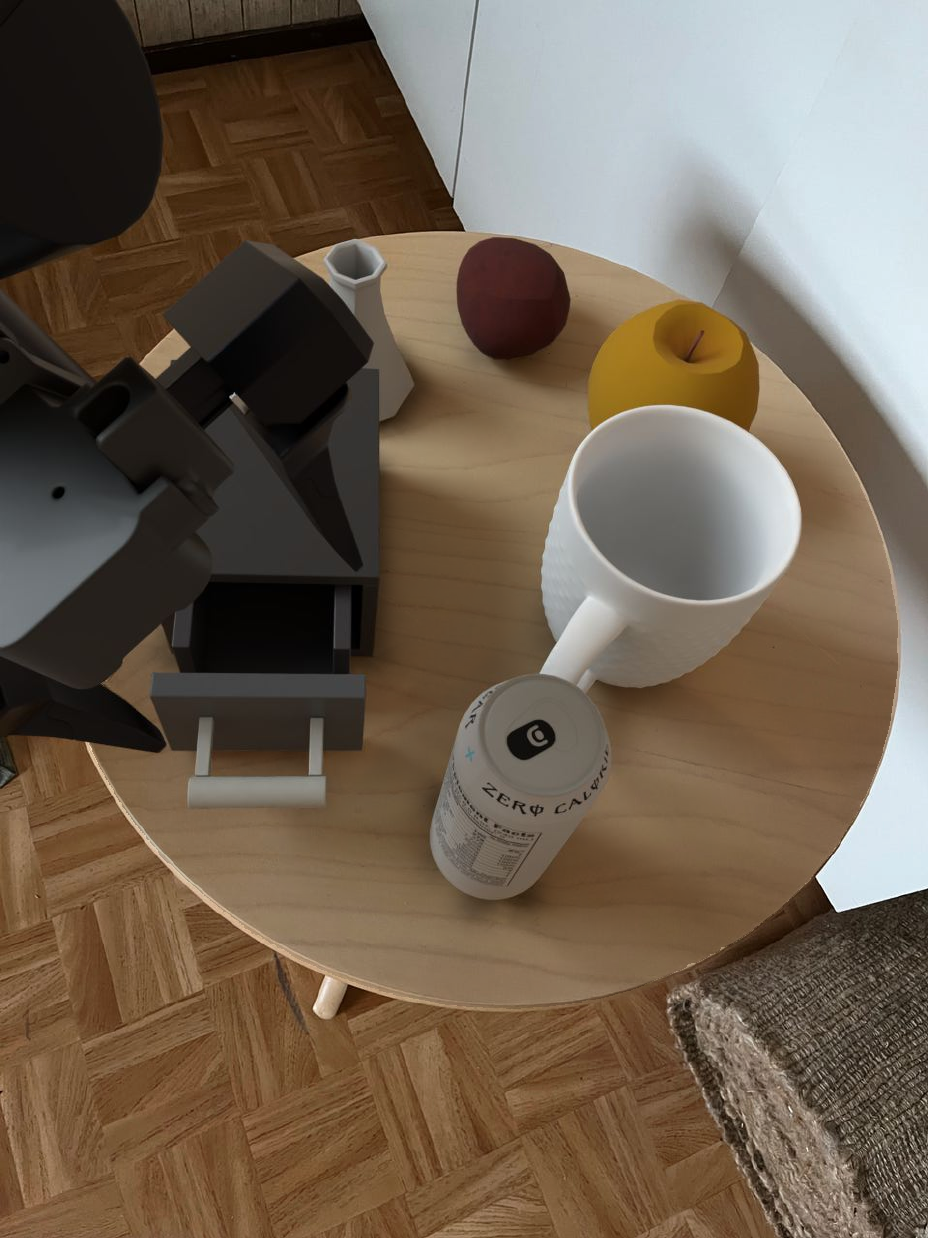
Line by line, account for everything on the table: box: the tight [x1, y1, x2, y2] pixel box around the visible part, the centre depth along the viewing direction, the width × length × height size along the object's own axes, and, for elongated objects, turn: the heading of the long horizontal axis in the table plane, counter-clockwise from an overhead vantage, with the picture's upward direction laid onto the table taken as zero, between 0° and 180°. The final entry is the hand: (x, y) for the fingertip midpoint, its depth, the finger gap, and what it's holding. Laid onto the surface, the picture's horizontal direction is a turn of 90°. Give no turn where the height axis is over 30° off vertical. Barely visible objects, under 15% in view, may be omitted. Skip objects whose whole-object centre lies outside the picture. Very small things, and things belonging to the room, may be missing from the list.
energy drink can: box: [429, 673, 612, 901], centre depth 44 cm, size 6×6×15 cm
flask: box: [323, 238, 415, 422], centre depth 59 cm, size 7×7×10 cm
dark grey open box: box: [161, 359, 381, 658], centre depth 53 cm, size 13×11×9 cm
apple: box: [587, 299, 760, 432], centre depth 58 cm, size 10×10×12 cm
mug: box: [539, 405, 803, 694], centre depth 51 cm, size 15×11×13 cm
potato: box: [455, 236, 572, 361], centre depth 64 cm, size 7×8×6 cm
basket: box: [149, 582, 367, 810], centre depth 49 cm, size 16×9×7 cm, turn 2°
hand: (258, 652), depth 35 cm, fingers open, 9 cm apart
